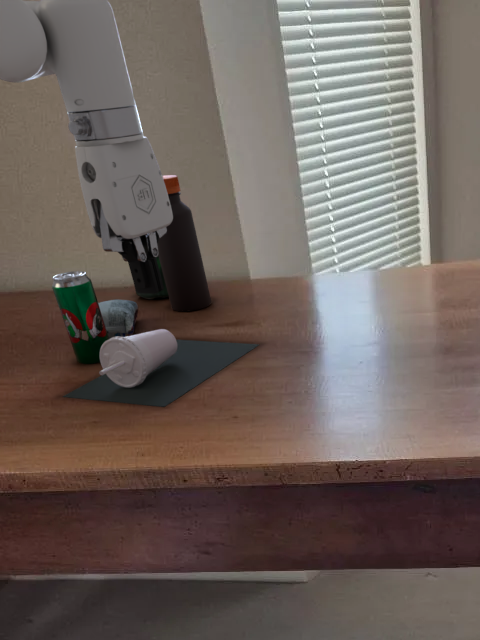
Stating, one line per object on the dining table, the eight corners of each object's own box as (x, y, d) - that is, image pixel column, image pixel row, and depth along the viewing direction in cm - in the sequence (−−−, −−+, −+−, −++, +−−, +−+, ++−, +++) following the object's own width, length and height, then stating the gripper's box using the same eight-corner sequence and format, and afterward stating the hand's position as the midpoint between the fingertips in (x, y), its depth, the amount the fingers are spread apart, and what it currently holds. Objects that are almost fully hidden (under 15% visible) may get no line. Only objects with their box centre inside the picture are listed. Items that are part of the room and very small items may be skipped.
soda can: (113, 352, 107) (87, 268, 101) (116, 362, 103) (89, 275, 97) (77, 359, 106) (49, 274, 99) (79, 370, 102) (49, 282, 95)
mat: (63, 400, 93) (62, 396, 92) (169, 342, 109) (168, 338, 109) (165, 410, 87) (164, 406, 87) (260, 347, 104) (259, 344, 104)
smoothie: (194, 357, 99) (130, 391, 87) (160, 371, 102) (94, 406, 90) (170, 312, 96) (101, 340, 85) (136, 327, 99) (65, 357, 88)
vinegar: (216, 306, 124) (187, 176, 112) (176, 314, 121) (143, 182, 110) (206, 298, 129) (178, 172, 118) (168, 305, 126) (135, 178, 115)
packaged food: (78, 351, 109) (67, 318, 106) (88, 328, 119) (79, 297, 116) (138, 343, 110) (129, 310, 108) (143, 321, 120) (135, 290, 117)
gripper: (86, 134, 76) (136, 310, 86) (173, 119, 87) (208, 276, 98) (32, 137, 79) (87, 308, 89) (123, 122, 90) (162, 275, 100)
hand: (150, 291), depth 93 cm, fingers closed
